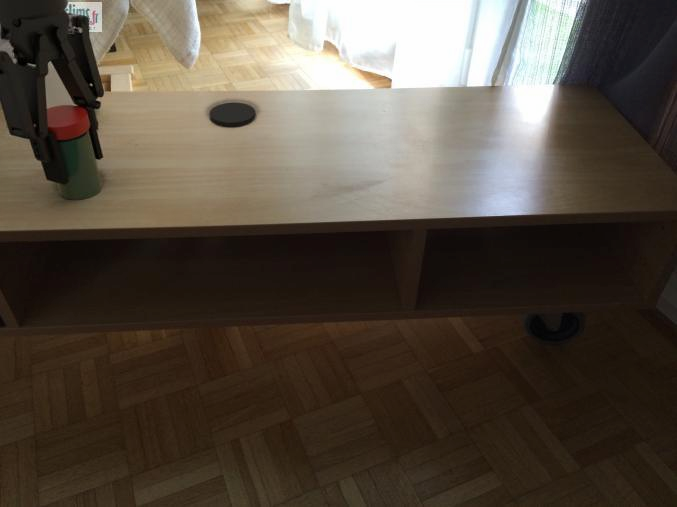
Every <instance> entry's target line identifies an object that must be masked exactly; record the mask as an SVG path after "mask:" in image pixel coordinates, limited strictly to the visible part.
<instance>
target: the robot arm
mask: <svg viewBox="0 0 677 507" xmlns="http://www.w3.org/2000/svg"><path fill="white" fill-rule="evenodd" d="M68 5H69V0H0V106H1V109H2V112H3V115H4V119H5V123H6V126H7V129H8V133H9V134H10V135H11V136H13V137H15V138H16V137H17V138H21V139H25V140H29V143H30V146H31V149H32V152H33V155H34V158H35V159H36V160H37V161H38V162H40V163H41V167H42V169H43V174H44V176H45V178H46V181H49V182H53V183H56V184H57V183H60V184H64V185H65V184H67V183H68V182H69V180H68V176H67V173H66V170H65V166H64V163H63V159H62V156H61V153H60V149H59V146H58V142H57V139H56V136H55V133H51V132H48V121H47V104H46V86H45V76H46V75H47V74H48V63H49V62H50V61H51V63H52V65H53V66H54V68H55V70H56V72H57V74H58V75H59V77H60V79H61V81H62V83H63V85H64V86H65V88H66V90H67V92H68V94H69V95H70V97H71V99H72V101H73V103H74V104H75V105H77V106H79V107H82V108H84V109H85V110H86V111H87V114H88V118H89V122H90V128H89V133H90V137H91V141H92V145H93V149H94V153H95V157H96V161H97V160H98V161H101V160H102V159H103V158H104V154H103V150H102V146H101V142H100V137H99V134H98V130H99V122H98V117H97V114H96V110H100V109H101V107H102V102H101V100H98V99H100V98H104V95H105V88H104V84H103V82H102V79H101V78H102V77H101V75H100V70H99V67H98V63H97V59H96V56H95V51H94V48H93V44H92V41H91V36H90V19H89V17H88V16H87V15H83V14H78V13H72V12H67V11H66V9H67V8H68ZM32 64H33V65H36V66H32Z"/></svg>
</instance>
